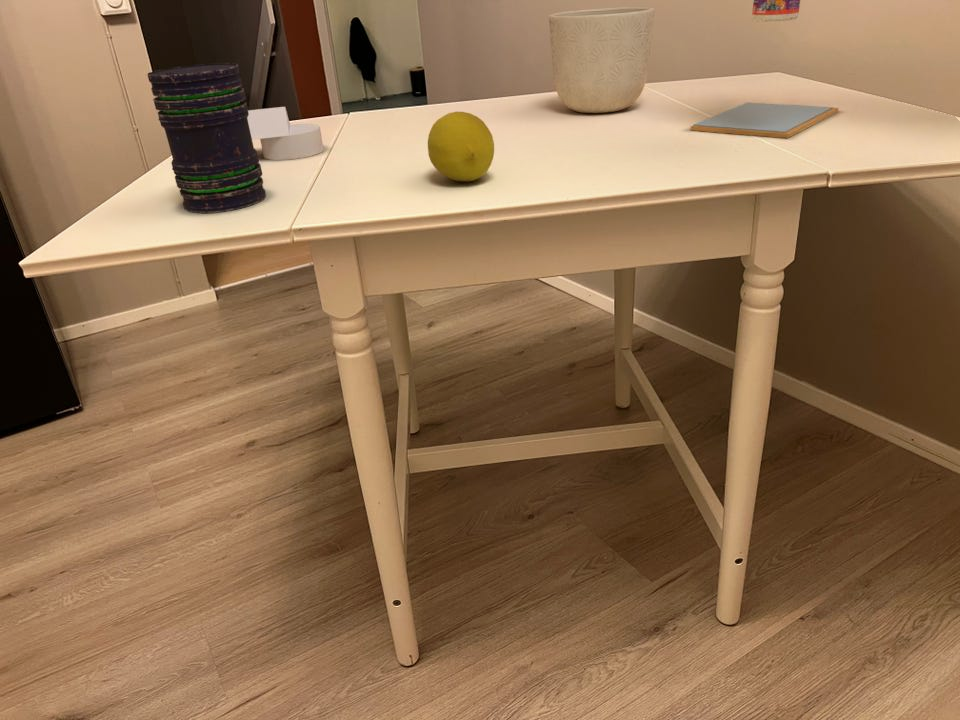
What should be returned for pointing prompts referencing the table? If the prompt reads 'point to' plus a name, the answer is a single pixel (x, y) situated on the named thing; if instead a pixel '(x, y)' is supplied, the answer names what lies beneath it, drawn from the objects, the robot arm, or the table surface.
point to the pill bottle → (775, 10)
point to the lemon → (460, 146)
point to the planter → (601, 57)
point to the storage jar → (208, 136)
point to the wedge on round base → (283, 135)
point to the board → (765, 119)
